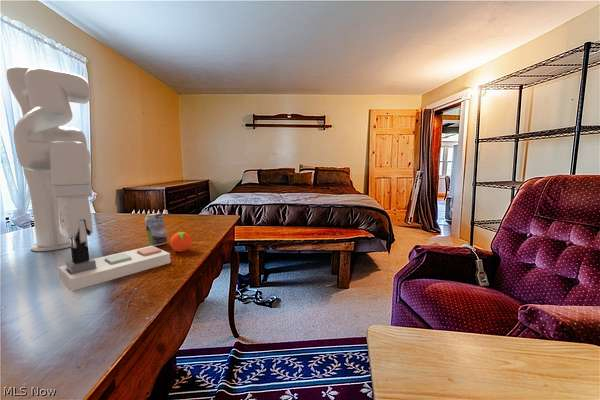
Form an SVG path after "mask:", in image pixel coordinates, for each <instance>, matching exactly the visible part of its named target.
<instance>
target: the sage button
mask: <svg viewBox="0 0 600 400" xmlns="http://www.w3.org/2000/svg"><path fill="white" fill-rule="evenodd" d="M121 253H122V252H121ZM128 260H131V256H129V255H127V254H125V253H122V254H118V255H114V256H109V257H105V261H106V262H107V263H109V264H110V265H112V264H116V263H120V262H124V261H128Z"/></svg>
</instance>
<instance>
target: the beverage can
mask: <svg viewBox="0 0 600 400" xmlns="http://www.w3.org/2000/svg"><path fill="white" fill-rule="evenodd" d="M144 223H145V228H146V233H147V239H148V240H147V241H148V245H149V246H154V247H157V246H162V245H164V244H166V242H168V237H167V232H166V231H167V230H166V225H165V219H164V215H162V214H161V212H157V213H151V214H146V215H145V218H144Z"/></svg>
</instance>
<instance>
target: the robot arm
mask: <svg viewBox="0 0 600 400" xmlns="http://www.w3.org/2000/svg"><path fill="white" fill-rule="evenodd" d="M6 80H7V83H8V86H9V89H10V90H11V92H12V94H13V96H14V98H15V99H16V101H17V103H18V104H19V108H20V110H21V114H22V117H21V118H19V120H18V121H17V123H16V124H15V126H14V130H13V143H14V147H15V153H16V157H17V161H18V162H19V164H20V166H21V168H22V169H23V174H24V177H25V178H24V179H25V180H26V184H27V186H28V187H27V188H28V190H29V196H30V203H31V210H32V219H33V224H34V231H35V232H34V233H35V240H36V243H33V244H32V245H31V246H30V250H31V251H34V252H50V251H51V252H52V251H57V250H58V251H59V250H64V249H66V248H70V252H71V260H72V262H74V263H75V264H76V263H80V262H85V261H88V260H89V257H90V254H89V253H90V252H89V243H88V241H89V240H88V236H92V234H93V232H94V231H93V228H94V227H93V219H92V211H91V207H90V206H91V205H90V199H89V198H91V197H93V188H92V179H91V178H92V177H91V167H90V163H91V153H90V150H89V149H88V141H87V137H86V135H85V133H84V132H83V130H81V129H79V128H76V127H68V126H65V125H67V124H68V123H70V122H71V120H72V119H73V111H72V107H71V104H70V103H74V104H76V103H77V104H83V105H85V104H87V103H88V102H90V99H91V89H90V86H89V83H88V81H87V79H86V78H84V76H82V75H79V74H75V73H70V72H66V71H60V70H55V69H50V68H45V67H32V66H31V67H30V66H25V65H24V66H23V65H12V66H9V67H8V68H7V70H6Z"/></svg>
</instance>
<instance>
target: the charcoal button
mask: <svg viewBox="0 0 600 400" xmlns="http://www.w3.org/2000/svg"><path fill="white" fill-rule="evenodd" d="M94 259H95V258H92V257H91V256H89V260H88V261H85V262H80V263H76V264H75V263H74V262H72V259H71V260H67V261H66V260H65V265H66V267H67V272H68V273H69V274H70V275H72V274H76V273H80V272H84V271H88V270H92V269H96V263H95V260H94Z"/></svg>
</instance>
